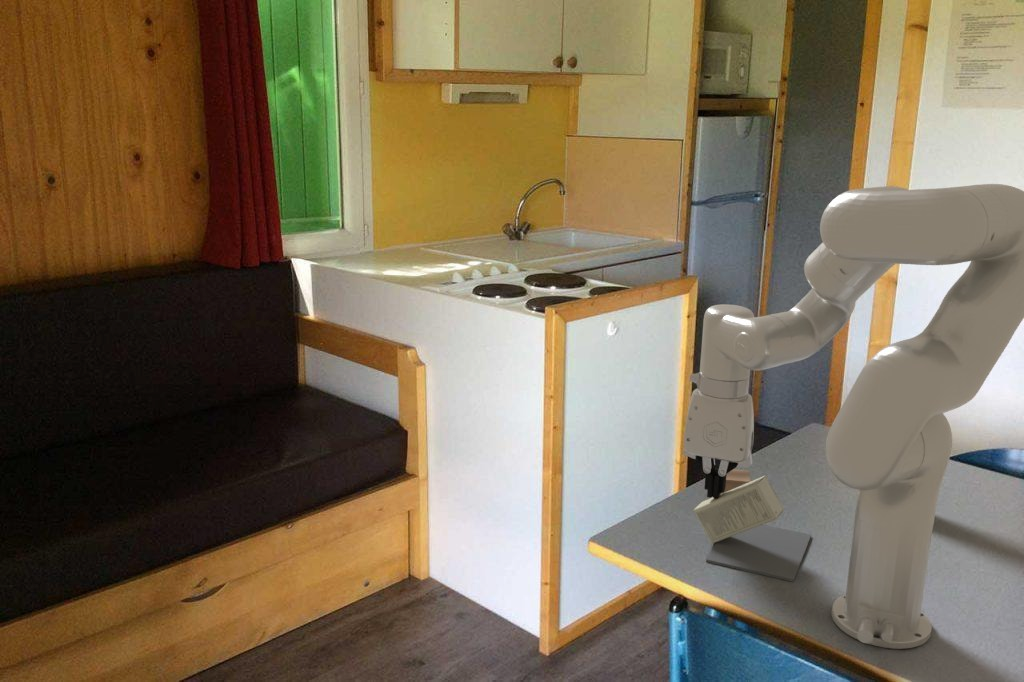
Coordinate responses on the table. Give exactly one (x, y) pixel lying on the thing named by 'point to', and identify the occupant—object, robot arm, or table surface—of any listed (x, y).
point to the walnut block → (736, 479)
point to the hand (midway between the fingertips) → (714, 494)
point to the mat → (762, 551)
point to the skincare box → (739, 510)
